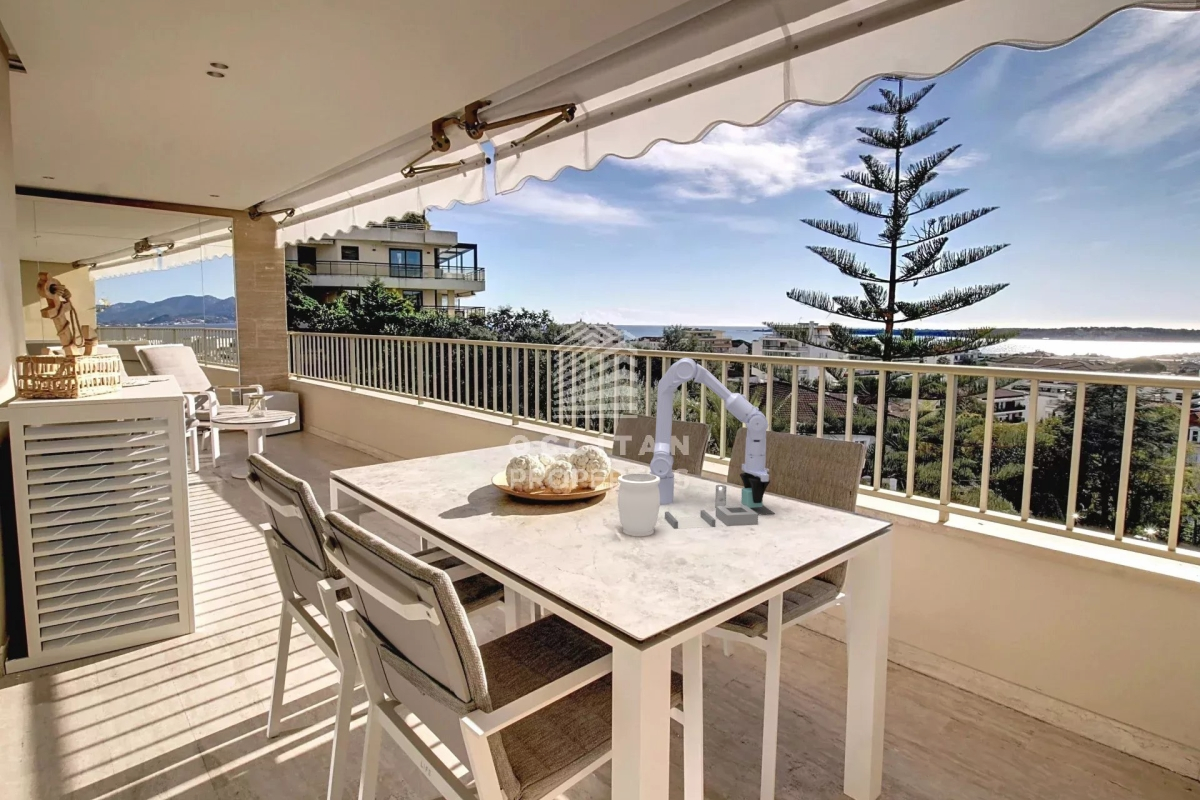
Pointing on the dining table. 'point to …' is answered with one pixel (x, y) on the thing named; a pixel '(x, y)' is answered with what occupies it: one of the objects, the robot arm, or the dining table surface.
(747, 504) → the block
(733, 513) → the grey blocks
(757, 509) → the pad
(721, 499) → the rod
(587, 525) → the dining table surface
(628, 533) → the jar
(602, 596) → the dining table surface
